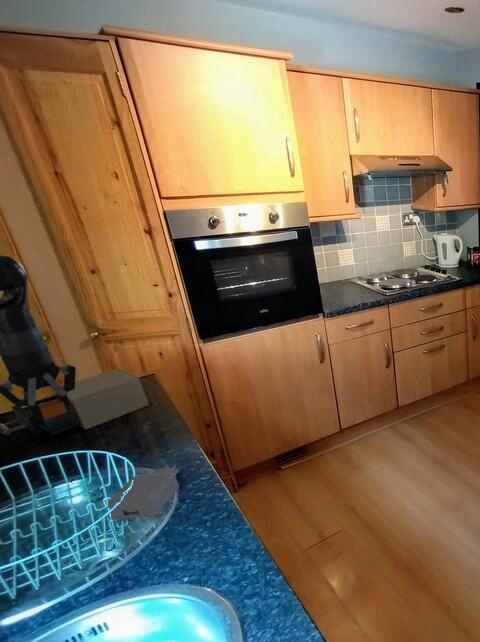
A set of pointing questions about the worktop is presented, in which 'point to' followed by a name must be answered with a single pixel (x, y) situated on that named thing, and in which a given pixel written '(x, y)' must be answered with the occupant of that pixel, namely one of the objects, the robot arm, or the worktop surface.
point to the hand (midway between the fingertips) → (52, 412)
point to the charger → (145, 494)
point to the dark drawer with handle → (43, 421)
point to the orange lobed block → (52, 408)
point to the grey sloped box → (106, 397)
